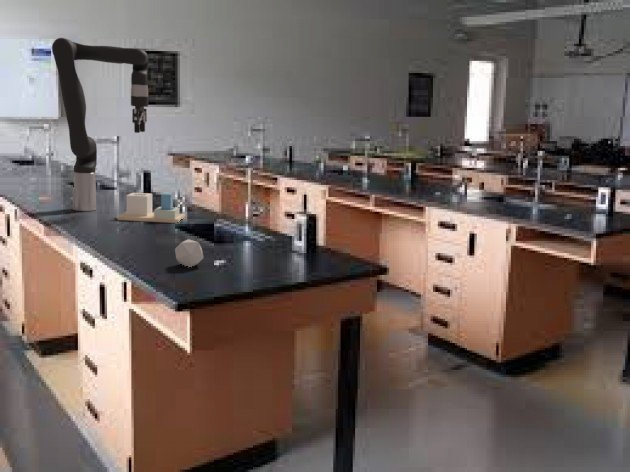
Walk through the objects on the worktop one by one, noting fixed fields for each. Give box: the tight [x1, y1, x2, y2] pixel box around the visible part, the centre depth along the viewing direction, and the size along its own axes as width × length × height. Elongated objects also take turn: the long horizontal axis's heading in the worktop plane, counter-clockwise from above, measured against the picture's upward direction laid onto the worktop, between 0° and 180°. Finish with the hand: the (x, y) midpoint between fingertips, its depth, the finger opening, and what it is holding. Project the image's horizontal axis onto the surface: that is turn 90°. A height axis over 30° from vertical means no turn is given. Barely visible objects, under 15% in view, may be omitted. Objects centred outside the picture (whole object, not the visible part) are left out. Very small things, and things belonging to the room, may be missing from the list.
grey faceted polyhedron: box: [174, 238, 204, 268], centre depth 204 cm, size 8×9×10 cm
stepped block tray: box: [117, 192, 186, 224], centre depth 278 cm, size 26×14×10 cm, turn 89°
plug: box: [160, 192, 174, 210], centre depth 276 cm, size 4×4×10 cm
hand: (139, 132), depth 288 cm, fingers open, 8 cm apart
